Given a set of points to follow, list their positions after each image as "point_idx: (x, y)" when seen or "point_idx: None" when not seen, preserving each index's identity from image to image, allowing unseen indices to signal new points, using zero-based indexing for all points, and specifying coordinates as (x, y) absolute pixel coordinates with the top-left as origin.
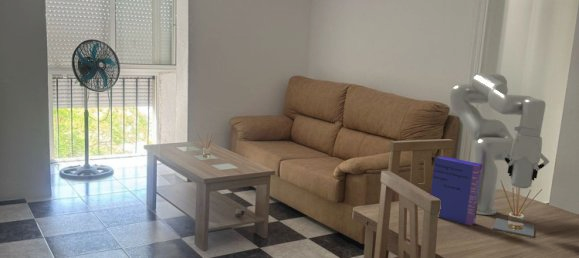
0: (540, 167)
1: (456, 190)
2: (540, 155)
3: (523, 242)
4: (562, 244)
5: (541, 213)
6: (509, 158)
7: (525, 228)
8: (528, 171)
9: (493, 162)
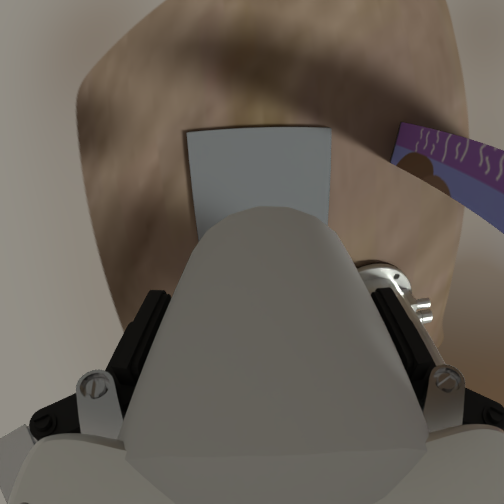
0: (68, 407)
1: None
2: None
3: (214, 54)
4: (103, 135)
5: None
6: None
7: (222, 200)
8: (187, 318)
9: None
